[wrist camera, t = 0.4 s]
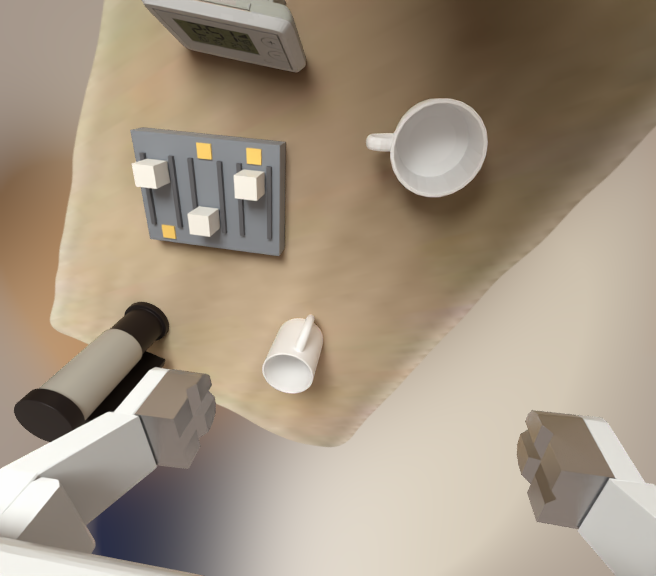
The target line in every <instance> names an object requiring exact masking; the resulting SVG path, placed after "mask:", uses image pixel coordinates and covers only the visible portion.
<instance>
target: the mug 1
mask: <svg viewBox="0 0 656 576" xmlns="http://www.w3.org/2000/svg"><path fill="white" fill-rule="evenodd" d="M314 319H315V318H314V316H313V315H308V316H307V317H306V319H303V318H294V319H290V320H288V321H286V322H285V323H284V324H283V325H282V326H281V327H280V329H279V331H278V333H277V335H276V338H275V340H274V342H273V344H272V346H271V348H270V351H269V353H268V355H267V357H266V359H265V361H264V364H263V368H262V372H263V375H264V378H265V379H266V381H267V382H268V383H269V384H270V385H271V386H272V387H274V388H275V389H277V390H279V391H282V392H285V393H300V392H303V391H305V390H307V389H308V388H309V387H310V386H311V384H312V382H313V379H314V375H315V372H316V368H317V364H318V361H319V357H320V353H321V349H322V345H323V335H322V332H321V330H320V329H319V327H318V326H317V325H316V324H314Z"/></svg>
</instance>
